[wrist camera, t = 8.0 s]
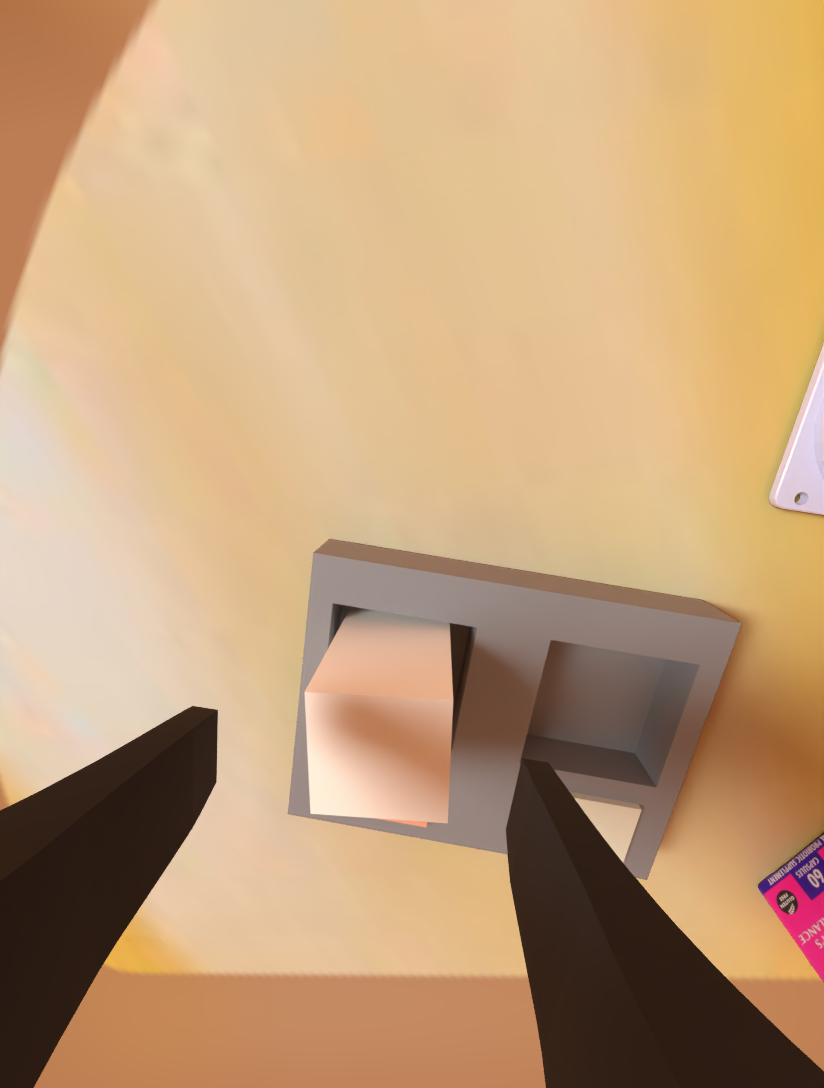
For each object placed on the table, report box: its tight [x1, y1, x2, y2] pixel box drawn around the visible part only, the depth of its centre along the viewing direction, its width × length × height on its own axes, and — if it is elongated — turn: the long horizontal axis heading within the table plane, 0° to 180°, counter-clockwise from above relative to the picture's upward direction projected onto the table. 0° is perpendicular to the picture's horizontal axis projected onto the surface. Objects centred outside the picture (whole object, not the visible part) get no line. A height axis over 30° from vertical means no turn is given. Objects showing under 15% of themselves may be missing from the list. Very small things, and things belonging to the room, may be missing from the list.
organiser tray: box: [288, 539, 742, 880], centre depth 19 cm, size 17×13×3 cm
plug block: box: [305, 606, 453, 823], centre depth 17 cm, size 4×4×7 cm
